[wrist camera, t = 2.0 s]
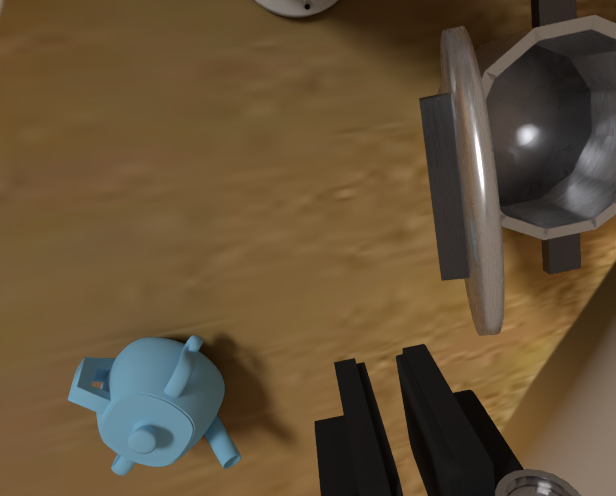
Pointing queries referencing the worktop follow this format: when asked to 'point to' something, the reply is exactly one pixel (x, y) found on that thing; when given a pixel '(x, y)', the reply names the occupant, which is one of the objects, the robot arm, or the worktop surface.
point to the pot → (553, 127)
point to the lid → (465, 182)
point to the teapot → (155, 402)
